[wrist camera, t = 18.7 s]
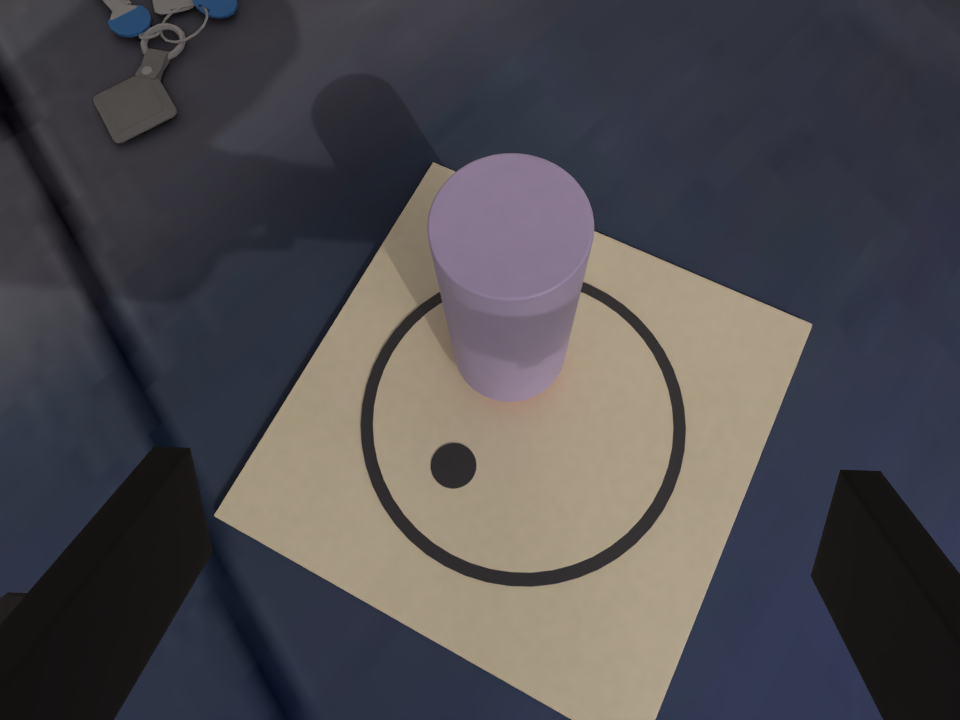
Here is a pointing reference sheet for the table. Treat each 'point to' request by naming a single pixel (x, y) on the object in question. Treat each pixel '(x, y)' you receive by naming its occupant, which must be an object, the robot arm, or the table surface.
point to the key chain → (148, 65)
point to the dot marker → (510, 269)
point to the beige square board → (528, 470)
